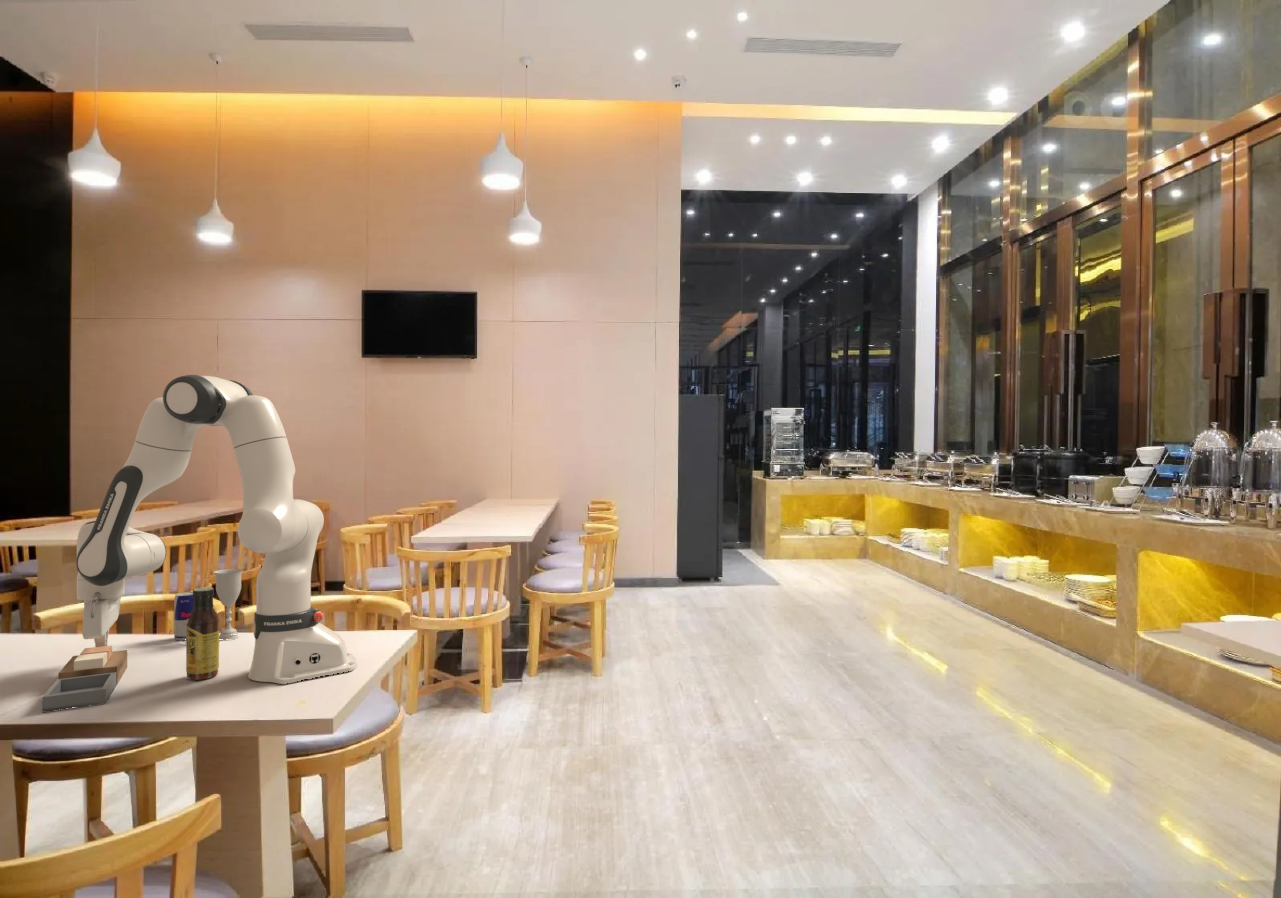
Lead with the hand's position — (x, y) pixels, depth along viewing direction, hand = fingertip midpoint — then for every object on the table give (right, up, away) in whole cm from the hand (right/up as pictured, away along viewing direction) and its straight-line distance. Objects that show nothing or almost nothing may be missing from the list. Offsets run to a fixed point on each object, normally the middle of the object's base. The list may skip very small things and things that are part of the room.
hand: (101, 649), depth 164 cm
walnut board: (+3, -5, -6) cm, 8 cm away
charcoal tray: (+10, -5, -19) cm, 22 cm away
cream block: (+5, -1, -10) cm, 11 cm away
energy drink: (+2, -5, +27) cm, 28 cm away
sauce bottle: (+26, -5, -5) cm, 27 cm away
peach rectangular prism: (+2, -1, -4) cm, 5 cm away
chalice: (+13, -5, +28) cm, 31 cm away
